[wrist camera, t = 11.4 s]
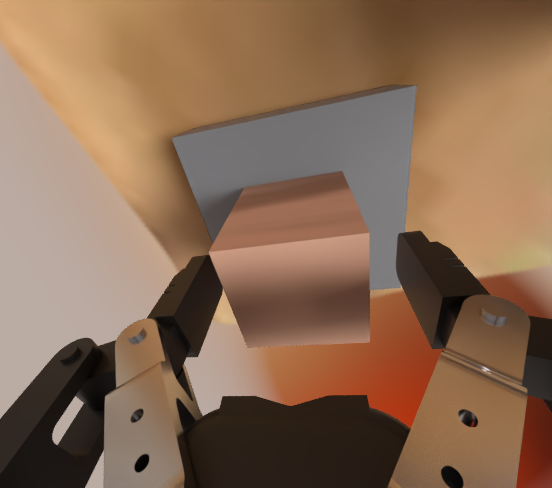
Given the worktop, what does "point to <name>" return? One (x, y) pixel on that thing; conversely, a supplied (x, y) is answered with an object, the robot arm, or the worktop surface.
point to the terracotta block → (296, 263)
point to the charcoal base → (314, 161)
